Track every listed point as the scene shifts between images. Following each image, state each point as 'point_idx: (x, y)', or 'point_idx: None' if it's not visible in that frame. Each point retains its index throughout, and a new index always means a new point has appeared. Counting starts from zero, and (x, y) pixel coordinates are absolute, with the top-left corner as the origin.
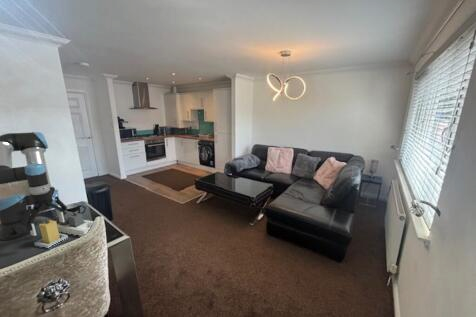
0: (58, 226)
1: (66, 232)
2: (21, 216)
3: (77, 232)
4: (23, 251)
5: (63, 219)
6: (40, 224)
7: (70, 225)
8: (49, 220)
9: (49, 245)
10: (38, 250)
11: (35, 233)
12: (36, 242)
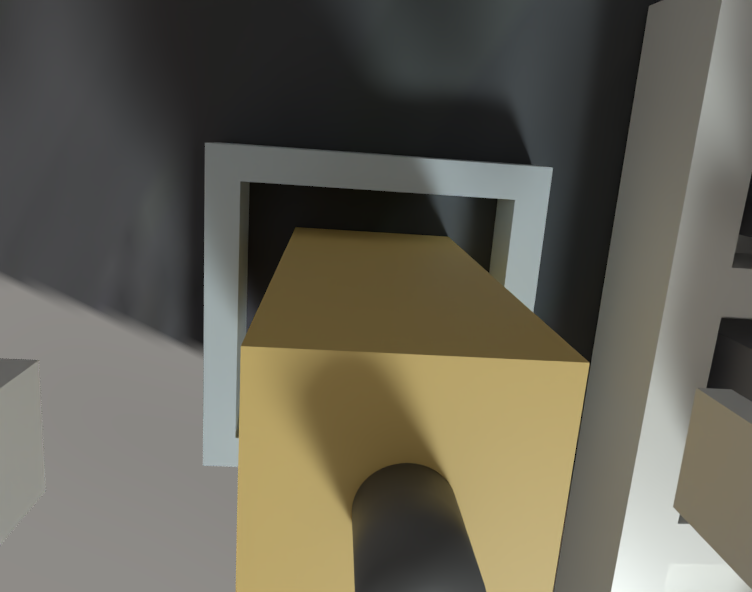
0: (694, 134)
1: (609, 312)
2: None
3: (585, 582)
4: (58, 118)
5: (741, 559)
6: (263, 381)
7: (740, 366)
8: (556, 395)
9: (231, 460)
10: (149, 332)
11: (5, 520)
12: (219, 179)
